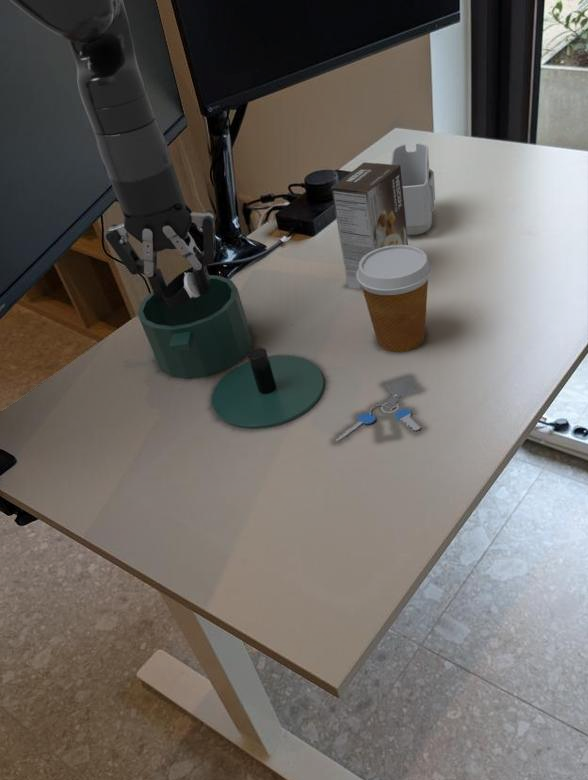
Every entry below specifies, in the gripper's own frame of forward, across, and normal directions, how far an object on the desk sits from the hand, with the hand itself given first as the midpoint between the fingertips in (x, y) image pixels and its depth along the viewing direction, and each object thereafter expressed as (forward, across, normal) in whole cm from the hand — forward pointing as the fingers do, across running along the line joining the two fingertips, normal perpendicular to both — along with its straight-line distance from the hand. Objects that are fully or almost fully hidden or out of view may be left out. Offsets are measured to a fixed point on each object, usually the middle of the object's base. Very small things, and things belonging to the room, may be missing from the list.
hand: (184, 294), depth 91 cm
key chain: (+9, -26, +20) cm, 34 cm away
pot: (+9, 0, 0) cm, 9 cm away
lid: (+9, -10, +12) cm, 18 cm away
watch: (+1, 0, 0) cm, 1 cm away
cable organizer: (+9, -33, -29) cm, 45 cm away
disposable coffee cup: (+10, -28, +4) cm, 30 cm away
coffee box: (+10, -26, -14) cm, 31 cm away
